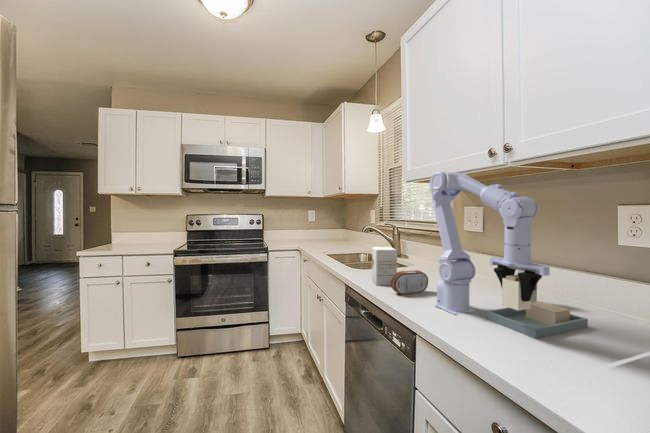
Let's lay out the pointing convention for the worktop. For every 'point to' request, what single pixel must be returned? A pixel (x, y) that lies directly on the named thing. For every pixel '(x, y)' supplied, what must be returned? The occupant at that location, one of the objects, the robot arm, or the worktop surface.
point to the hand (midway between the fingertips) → (516, 297)
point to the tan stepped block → (547, 313)
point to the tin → (409, 282)
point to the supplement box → (383, 265)
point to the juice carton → (513, 293)
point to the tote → (533, 323)
